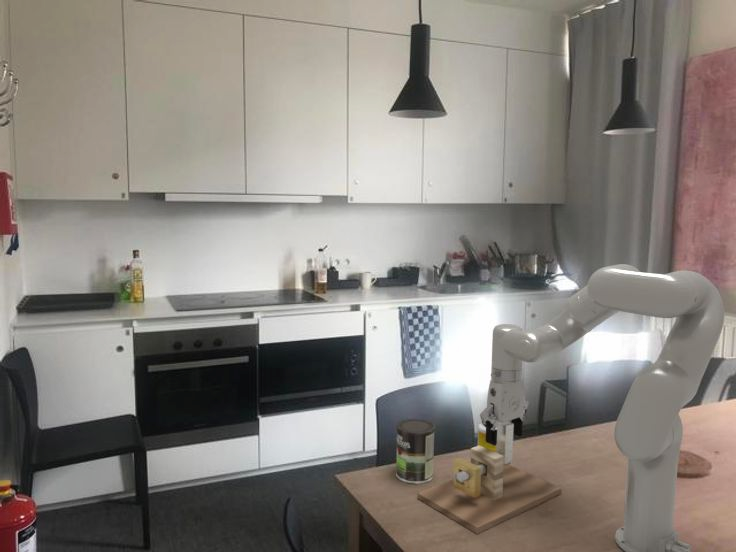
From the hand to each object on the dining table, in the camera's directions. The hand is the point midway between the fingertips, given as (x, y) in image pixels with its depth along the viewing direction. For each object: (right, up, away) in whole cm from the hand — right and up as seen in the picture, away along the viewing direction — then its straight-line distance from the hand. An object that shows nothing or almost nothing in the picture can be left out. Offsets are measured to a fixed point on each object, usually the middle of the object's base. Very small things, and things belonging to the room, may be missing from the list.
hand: (503, 439), depth 150 cm
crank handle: (-6, -7, -4) cm, 10 cm away
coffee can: (-22, -13, +10) cm, 27 cm away
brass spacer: (-11, -11, -7) cm, 17 cm away
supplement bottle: (0, -12, +20) cm, 23 cm away
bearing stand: (-4, -14, -2) cm, 15 cm away
